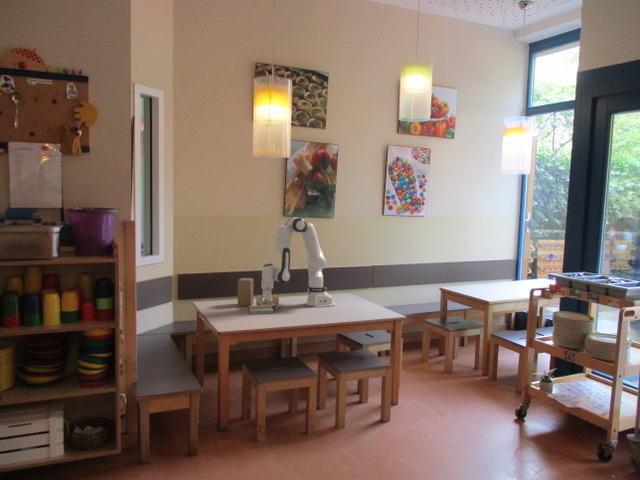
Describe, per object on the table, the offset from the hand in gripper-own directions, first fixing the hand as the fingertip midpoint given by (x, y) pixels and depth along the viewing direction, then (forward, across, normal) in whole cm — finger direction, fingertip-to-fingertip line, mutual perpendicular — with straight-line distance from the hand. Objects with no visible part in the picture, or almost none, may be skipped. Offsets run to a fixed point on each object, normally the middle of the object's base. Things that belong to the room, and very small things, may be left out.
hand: (266, 304), depth 361 cm
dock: (+3, -10, +6) cm, 12 cm away
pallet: (+3, 0, -1) cm, 3 cm away
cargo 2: (-2, 0, -7) cm, 7 cm away
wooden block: (+4, +13, +14) cm, 19 cm away
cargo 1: (-2, 0, +5) cm, 6 cm away
